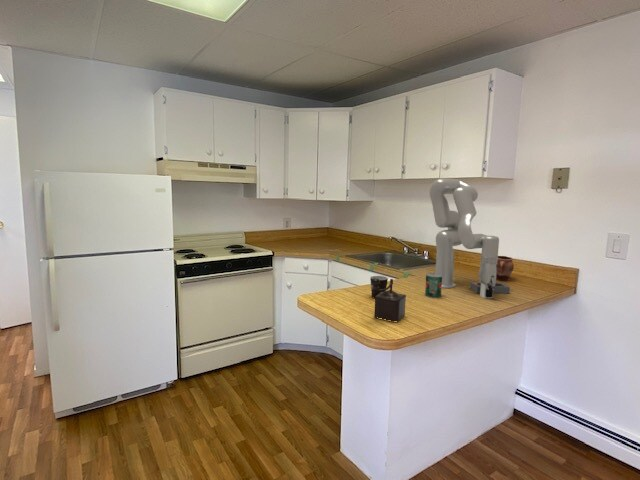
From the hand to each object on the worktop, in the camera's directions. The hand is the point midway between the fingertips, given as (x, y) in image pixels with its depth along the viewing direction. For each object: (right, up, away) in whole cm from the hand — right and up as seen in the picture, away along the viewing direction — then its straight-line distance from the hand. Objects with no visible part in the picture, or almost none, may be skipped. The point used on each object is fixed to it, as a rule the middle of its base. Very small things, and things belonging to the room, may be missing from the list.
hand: (486, 295), depth 184 cm
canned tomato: (-27, -1, +1) cm, 27 cm away
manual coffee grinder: (-57, -5, -32) cm, 66 cm away
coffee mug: (-55, -1, -2) cm, 55 cm away
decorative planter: (+26, +4, +36) cm, 45 cm away
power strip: (+7, +1, +14) cm, 16 cm away
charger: (0, -1, 0) cm, 1 cm away
